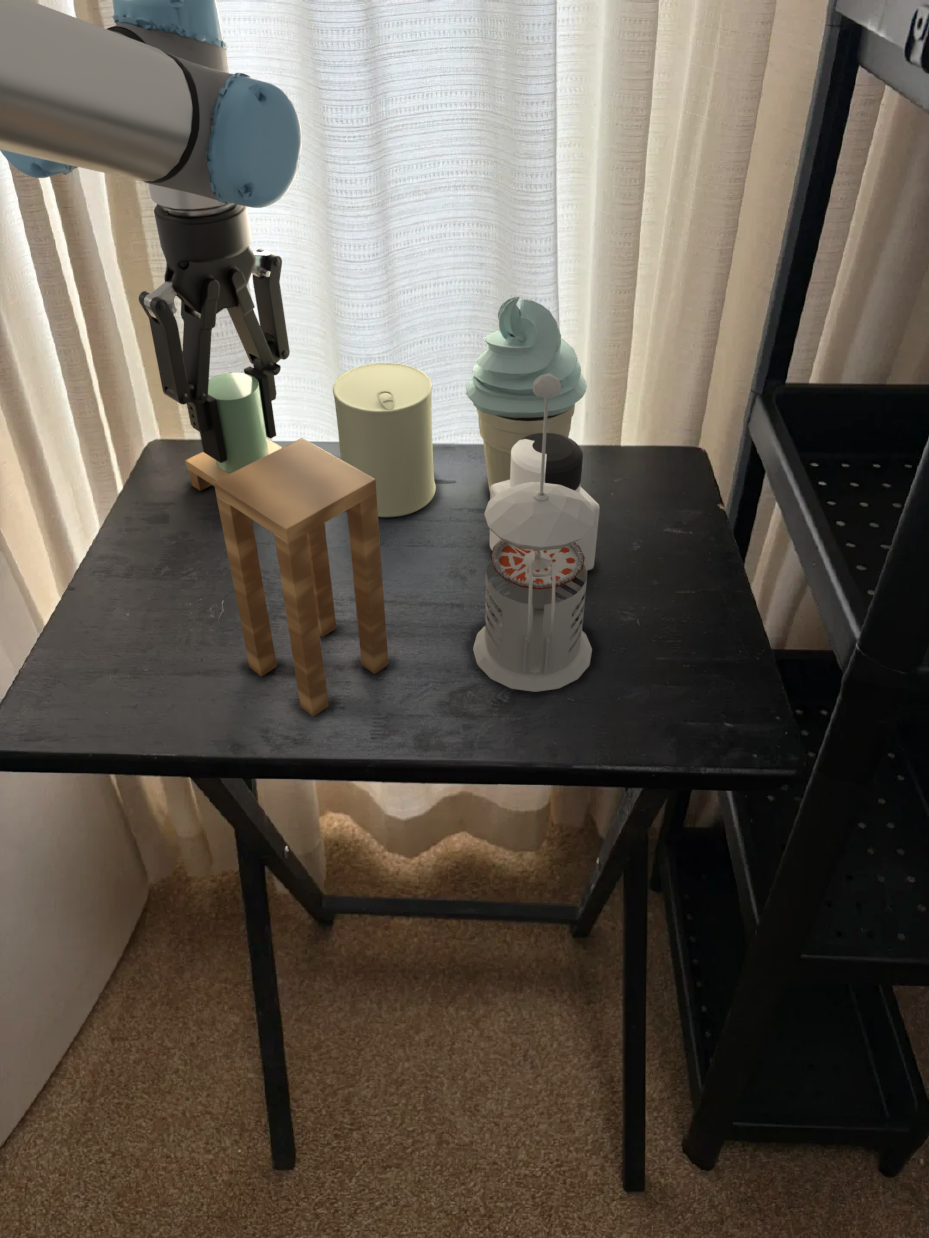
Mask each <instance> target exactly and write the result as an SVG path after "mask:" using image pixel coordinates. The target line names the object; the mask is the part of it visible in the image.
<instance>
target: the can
mask: <svg viewBox="0 0 929 1238" xmlns="http://www.w3.org/2000/svg"><path fill="white" fill-rule="evenodd" d="M432 393H433V383H432V380H431V379H430V377H429V375H427V374H426V373H425V372H424V371H422V370H421V369H418V368H417V367H414V366H411V365H407V364H403V363H395V362H374V363H368V364H363V365H359V366H356V367H354V368H351V369H349V370H347V371H345V372H344V373H342V374H341V375H339V377H337V379H336V380H335V381H334V383H333V386H332V395H333V398H334V406H335V415H336V424H337V425H336V426H337V433H338V434H337V435H338V443H339V453H340V460H342V461H344V462H346V463H347V464H349V465H351V466H353V467H355V468H356V469H358V470H360V471H362V472H363V473H365V474H367V475H369V476H370V477H372V478H374V479H375V480H376V492H377V493H376V494H377V508H378V518H395V517H402V516H407V515H410V514H413V513H415V512H418V511H419V510H421V509H423V508H425V507H426V506H427V505H429V503H431V501H432V500H433V498H434V497H435V495H436V494H435V493H436V490H437V489H436V487H437V486H436V482H435V475H434V473H435V472H434V452H433V451H434V450H433V405H432V404H433V403H432V399H433V398H432V397H433V394H432Z"/></svg>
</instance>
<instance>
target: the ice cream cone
mask: <svg viewBox="0 0 929 1238" xmlns="http://www.w3.org/2000/svg"><path fill="white" fill-rule="evenodd" d="M519 299H520V296H514V297H511V298H509V299H507V300H506V301H504V302H503V303H502V304H501V305H500V306H499V309H498V312H497V318H498V326H499V330H497V331H493V332H491V333H488V334H487V335H485V337H484V340H485V343H486V344H487V348H486V349H485V350H484V351H483V352H482V353H481V354H480V355H479V356H478V357H477V358H476V359H475V365H474V366H473V368H472V370H471V371H472V374H473V376H472V379H470V381H469V382H468V383H467V385H466V387H465V395H466V396H467V398H468V399H469V400H470V401H471V402H472V404H473V407H475V408H476V413H477V417H478V418H477V421H478V429H479V434H480V437H481V439H482V441H483V442H482V443H483V450H484V458H485V466H486V467H485V468H486V475H487V483H488V491H489V492H490V489H491V486H492V485H493V484H496V483H499V482H503V481H506V480H510V468H511V450H512V448H513V446H514V445H515V444H516V443H517V442H518V441H519V440H520V439H522V438H524V437H526V436H528V435H532V434H536V433H543V424H544V405H545V398H542V397H539V396H537V395H535V394H534V392H533V383H534V381H535V380H536V379H537V378H538V377H539V376H541V375H545V374H549V373H550V374H551V375H553V376H554V377H556V378H557V379H559V380H560V383H561V392H560V394H559V395H558V396H556V397H554V398H548V414H547V432H546V433H555V434H560V435H563V436H566V437H568V438H570V437H569V436H570V432H571V429H572V428H571V427H572V420H573V416H574V414H575V409H576V403H578V402H579V401H581V399H582V398H583V397H584V396H585V394H586V392H587V388H588V386H587V385H588V384H587V381H586V378H585V377H584V375H583V374H582V366H581V364H580V361H579V359H578V355H577V353H576V350H575V348H574V347H573V346H572V345H571V344H570V343H569V342H567V341H566V340H565V339H563V338H562V333H561V331H560V330H561V329H560V328H559V324H558V320H556V318H555V317H554V316H553V314H552V312H551V310H549V309H548V308H547V307H545V306H544V305H543V304H541V303H538V302H536V301H534V300H529V299H525V298H524V299H522V300H520V303H519V305H520V306H519V307H518V306H517V304H518V302H519Z"/></svg>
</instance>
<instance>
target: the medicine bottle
mask: <svg viewBox="0 0 929 1238" xmlns="http://www.w3.org/2000/svg"><path fill="white" fill-rule="evenodd" d="M542 443H543V433H536V434H532V435H528V436H526V437H524V438H522V439H520V440H519V441H518V442H517V443H516V444H515V445H514V446H513V448H512V450H511V468H510V480H506V481H503V482H499V483H496V484H493V485H492V486H491V489H490V491H489V495H490V496H489V497H490V498H489V501H490V500H491V499H492V498H493V497H494V496H496V495H497V494H498V493H499V492H500V491H503V490H505V489H508V488H511V487H513V486H516V485H519V484H523V483H528V482H540V480H541V462H542ZM583 460H584V452H583V450H582V448H581V447H580V445H579V444H578V443H577V442H576V441H575V440H573V439H572V438H570V437H566V436H563V435H560V434H555V433H546V449H545V467H544V483H549V484H558V485H562V486H565V487H567V488H569V489H572V490H574V491H577V492H578V493H579V494H580V495H582V496H583V497H584V498H585V499H587V500H588V501H589V502H590V504H591V506H592V508H593V510H594V512H595V518H594V523H593V527H592V528H591V529H590V530H589V531H588V532H587V533H586V534H585V535H584V536H583V537H582V538H581V539H579V540H578V541H576V542H575V543H576V544H577V545H579V546H580V548H581V550H582V552H583V555H584V557H585V560H584V566H585V568H586V570H587V572H588V571H590V570H592V569H594V567H595V559H596V549H597V540H598V539H597V538H598V529H599V519H600V511H601V510H600V504H599V503H598V502H597V501H596V500H595V499H594V498H593V497H592V496H591V495H590V494H589V493H588V492H587V491H586V490H585V489H584V488H583V487H581V482H582V473H583V462H584V461H583ZM500 540H501V539H500V538H499V537H498V536H497V535H496V534H495V533H493V532H492V531H491V530H490V529H489V548H490V550H491V551H492V550H493V547H494V546H495V545H496V544H497V543H498V542H499V541H500Z"/></svg>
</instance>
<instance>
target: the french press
mask: <svg viewBox="0 0 929 1238" xmlns="http://www.w3.org/2000/svg"><path fill="white" fill-rule="evenodd" d="M533 392H534V394H535V395H537V396H539V397H542V398H545V405H544V424H543V443H542V462H541V480H540V482H528V483H523V484H519V485H516V486H513V487H511V488H508V489H505V490H503V491H500V492H499V493H498V494H497V495H496V496H494V497H493V498H492V499H491V500H490V499H489V501H488V502H487V505H486V508H485V510H484V513H483V514H484V518H485V520H486V523H487V527H488V528H489V531H490V530H491V531H492V532H493V533H495V534H496V535H497V536H498V537H499V538H500V539H501V540H500V541H499V542H498V543H497V544H496V545H495V546H494V547H493V550H491V554H490V560H489V562H488V565H487V567H486V570H485V582H484V583H485V586H486V588H485V589H484V591H485V599H486V601H485V602H484V605H485V606H484V608H485V609H484V610H485V614H484V621H485V625H484V626H483V627H482V628H481V630H479V631H478V632H477V634H476V637H475V641H474V645H473V647H472V651H473V654H474V658H475V661H476V665H477V666H478V667H479V669H480V670H481V671H483V672H484V673H485V674H486V675H487V677H488V678H489V679H490V680H492V681H494V682H496V683H499V684H501V685H502V686H505V687H507V688H509V689H512V690H519V691H526V692H533V693H537V692H545V691H551V690H558V689H561V688H563V687H566V686H567V685H569V684H570V683H573V682H575V681H577V680H579V678H580V677H581V676H582V675H583V674H584V672H586V670H587V669H588V668H589V667H590V665H591V658H592V652H593V648H592V646H591V643H590V641H589V638H588V636H587V634H586V632H585V631H583V624H584V612H585V602H586V601H585V600H586V592H587V591H586V590H587V582H588V571H587V570H586V568H585V566H584V560H585V557H584V555H583V552H582V550H581V548H580V546H579V545H577V544H576V543H575V542H576V541H578V540H579V539H581V538H582V537H583V536H584V535H585V534H586V533H587V532H588V531H589V530H590V529H591V528H592V527H593V523H594V518H595V512H594V510H593V508H592V506H591V504H590V502H589V501H588V500H587V499H585V498H584V497H583V496H582V495H580V494H579V493H578V492H577V491H574V490H572V489H569V488H567V487H565V486H562V485H558V484H549V483H544V467H545V449H546V432H547V414H548V398H554V397H556V396H558V395H559V394H560V392H561V383H560V380H559V379H557V378H556V377H554V376H553V375H551V374H550V373H549V374H545V375H541V376H539V377H538V378H537V379H536V380H535V381H534V383H533ZM497 575H499V576H500V578H499V579H497V580H495V581H493V582H492V583H491V582H490V580H491V579H492V578H494V577H496V576H497ZM575 578H576V579H578V580H580V581H581V582H582V583H584V584H583V585H582V586H581V585H579V584H577V583H575V582H574V581H573V580H574V579H575ZM506 582H508V583H509V584H508V585H507V586H506V585H505V587H503V588H501V589H500V590H496V588H498V587H500V586H502V585H503V584H505V583H506ZM563 585H565V586H567V587H569V588H570V589H571V590H574V591H575V592H576V593H575V594H572V593H571V592H569V591H567V590H566V589H565V588H562V587H561V586H563ZM508 592H509V596H505V594H507V593H508ZM556 593H558V594H559V595H562V596H563V597H564V598H565V599H563V600H562V599H560V598H559V597H557V596H556ZM489 595H490V596H489ZM583 597H584V598H583ZM493 602H494V603H495V605H494V604H493ZM488 606H489V607H488ZM578 606H579V607H578ZM577 607H578V609H577ZM499 609H500V611H501V612H499V611H498V610H499ZM582 609H583V610H582ZM492 614H493V615H494V616H493V615H492ZM577 618H578V619H577ZM488 619H489V620H488ZM576 619H577V620H576Z"/></svg>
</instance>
